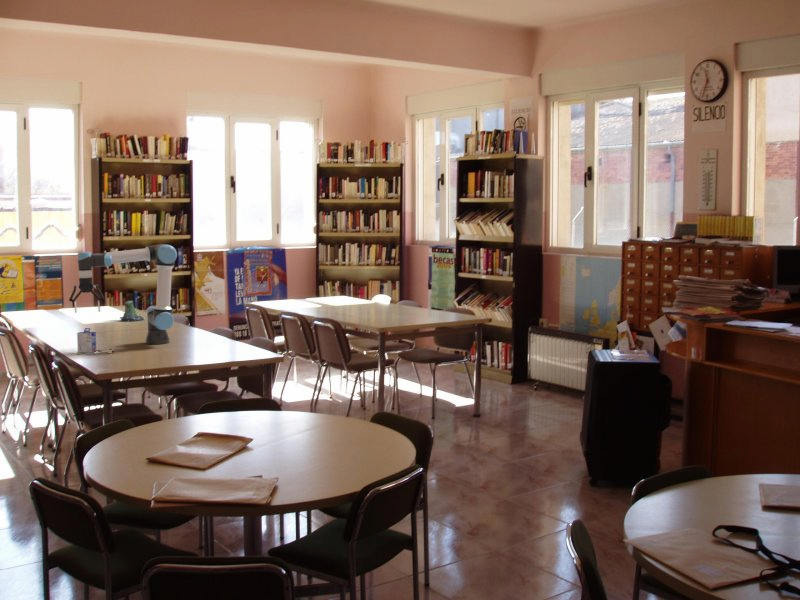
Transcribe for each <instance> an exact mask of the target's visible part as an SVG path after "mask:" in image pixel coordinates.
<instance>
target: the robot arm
mask: <svg viewBox="0 0 800 600" xmlns="http://www.w3.org/2000/svg"><path fill="white" fill-rule="evenodd" d="M177 257H178V252H177V250H176V248H175V247H173V246H172V245H170V244H165V243H160V244H156V245H150V246H146V247H145V248H137V249H127V250H118V251H109V252H108V251H107V252H96V253H92V252H90V251H81V252H79V251H78V253H77V263H78V264H77V265H78V283H79V285H74V286H73V290H72V291H71V295H70V297H69V299H68V301H69V302H71V303H72V308H74V314H76V313H77V312H78V311H77V310H78V309H77V301H76V300H77V299H78V298H79V296H81V294H83V293H84V294H86V293H88V294H89V293H91V294H93V296H94V297H95V298H96V299H97V309H98V313H100V312H101V307H102V306H103V302H102V301H104V300H105V297H104V295H103V293H102V291H101V290H100V289H99V284H95V285H93V278H92V277H93V269H92V268H102V267H103V268H104V267H105V268H107V267H111V266H112V265H113V264H114V265H115V264H123V263H124V264H125V263H133V262H142V261H143V262H144V261H147V262H155V267H156V268H157V280H156V281H157V282H156V304H155V306H154V307H150V308H147V313H146V317H147V333H146V337H145V344H146V345H164V344H169V343H170V342H171V341H170V337H169V334H168V331H167V330H169V329H171V328H172V327H173V325H174V322H175V318H174V316H173V308H172V306H171V299H172V298H171V295H172V294H171V293H172V272H173V268H174V267H175V262H176V259H177ZM78 289H79V292H77V294H76V295H75V293H76V290H78ZM93 289H96V291H97V293H98V294H97V293H96V292H95V291H94V290H93ZM74 296H75V297H74Z"/></svg>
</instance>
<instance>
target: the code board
mask: <svg viewBox="0 0 800 600" xmlns="http://www.w3.org/2000/svg"><path fill="white" fill-rule="evenodd" d="M107 349H108V348H107ZM107 349H96V351H98V352H100V353H108V352H102V351H105V350H107ZM77 354H86V355H95V354H94V352H93V353H87V352H78V351H77Z"/></svg>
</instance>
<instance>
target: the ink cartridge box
mask: <svg viewBox="0 0 800 600" xmlns="http://www.w3.org/2000/svg"><path fill="white" fill-rule="evenodd" d="M76 333H77V334H76V336H77V337H76V339H77V342H76V343H77V353H78V352H87V353H93V352H96V350H97V332H96V331H91V328H90V327H85V328H84V330H83V331H79V332H76Z"/></svg>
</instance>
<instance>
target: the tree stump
mask: <svg viewBox="0 0 800 600" xmlns="http://www.w3.org/2000/svg"><path fill="white" fill-rule="evenodd" d="M119 319H121V320H122V322H139V321H140V322H141V321H145V320H146V318H145V317H143V316H141V314H139V313H138V311H136V309H135V306H134V300H128V301H125V303H124V313H123V316H122V317H121V316H120V317H119Z"/></svg>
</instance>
